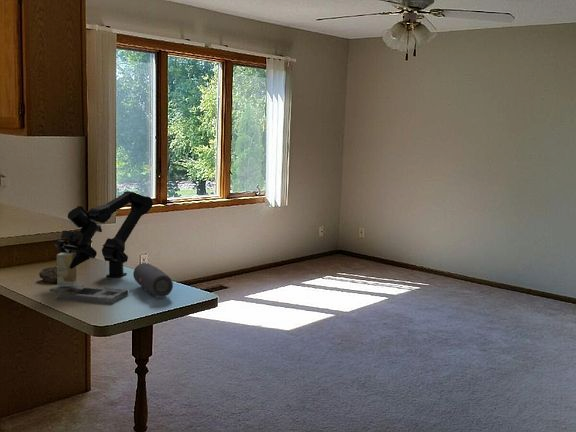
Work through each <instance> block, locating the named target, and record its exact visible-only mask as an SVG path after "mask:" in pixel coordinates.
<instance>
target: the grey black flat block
mask: <svg viewBox="0 0 576 432" xmlns="http://www.w3.org/2000/svg"><path fill="white" fill-rule="evenodd" d="M128 295H129V290H128V289H119V288H110V287H109V288H108V287H99V286H97V287H96V286H86V285H84V286H74V287H71V288H69V289H67V290H65V291H59V292H58V293H56V299H57V300H62V299H63V300H64V301H74V302H76V301H77V302H85V303H88V302H89V303H98V304H108V305H113V304H114V303H117V302H118V301H121V300H122V299H124V298H125V297H128Z"/></svg>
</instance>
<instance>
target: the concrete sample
mask: <svg viewBox="0 0 576 432" xmlns="http://www.w3.org/2000/svg"><path fill="white" fill-rule="evenodd" d="M38 275H39V278H40V279H42V281H43V282H46V283H51V284H52V283H57V266H52V267H45V268H42V270H41V271H39V274H38Z"/></svg>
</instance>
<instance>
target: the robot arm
mask: <svg viewBox="0 0 576 432" xmlns="http://www.w3.org/2000/svg"><path fill="white" fill-rule="evenodd" d="M128 204H130V212H129V214H127V216H126V218H125V220H124V221H123V223H122V224H121V226H120V228H119V229H118V231H117V233H116V234H115V235H114V237H113V238H109V237H108V238H107V239H106V240H105V242H104V244H103V245H102V247H101V254H102V256H103V258H104V261H105V262H108V274H106V275H105V276H106V277H109V278H122V277H124V276H126V275H127V274H128V273H127V272H124V264H125V263H126V262H128V260H129V256H128V254H126V253H125V250H126V249H125V248H126V247H125V246H126V242H127V240H128V239H129V237H130V236H131V234H132V232H133V231H134V228H135V227H136V225H137V224H138V222H139V221H140V219H141V218H142V217H143V216H144V215H145V214H147V213H148V212H149V211H150V210H151V209H152V207H153V205H154V202H153V200H152V197H150V196H146V195H145V196H144V195H141V194H138V193H137V192H135V191H130V190H127V191H124V192H123V193H121V194H120V195H118V196H117V197H115V198H114V199H112V200H110V201H109V202H107V203H105V204H101V205H98V206H95V207H92V208H90V209H89V210H88V211H86V209H84V207H83V206H81V205H77V207H75V208H73V209H71V210H69V212H68V214H67V218H68V219H69V220H70V222H71V223H72V224H74V225H75V227H76V228H80V229H79V230H73V231H70V230H62V232H61V236H60V239H59V240H56V241H55V243H54V246H55V247H56V248H57V249H58V254H59V253H72V252H75V253H76V256H75V257H74V259H73V261H72V263H71V264H70V267H69V268H70V269H72V268H74V267H75V266H76V267H77V266H79V265H81V264H82V263H85V262H86V261H88V260H90V259H95V258H96V256H97V252H98V251H96V249H94V248H93V247H92V246H91V245H90V244H93V243H92V242H93V240H92V239H93V237H94V235H95V234H96V233H98V232H99V233H102V232H103V230H102V226H101V225H99V223H101V224H105V223H107V221H109V220H110V219H111V217H112V215H114V214H115V212H117V211H119V210H120V209H122V208H123V207H125V206H127V205H128ZM97 223H98V224H97ZM61 239H62V240H61ZM63 239H64V240H63ZM56 266H57V263H56Z"/></svg>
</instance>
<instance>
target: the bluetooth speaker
mask: <svg viewBox="0 0 576 432" xmlns="http://www.w3.org/2000/svg"><path fill="white" fill-rule="evenodd" d="M132 274H133V275H132V276H133V279H134V281H136V283H137V284H138V285H139V286H140V287H142V288H143V289H144V291H145V292H147V294H149V295H150V296H151V297H158V298H163V297H167V296H169V295H170V294H171V292H172V290H173V288H174V282H173V280H172V279H171V277H170V276H169V275H167V273H166V272H164V271H162V269H159V268H158V267H157V266H154V265H152V264H150V263H145V262H142V263H139V264H138V265H136V267H134V270H133V273H132Z"/></svg>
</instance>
